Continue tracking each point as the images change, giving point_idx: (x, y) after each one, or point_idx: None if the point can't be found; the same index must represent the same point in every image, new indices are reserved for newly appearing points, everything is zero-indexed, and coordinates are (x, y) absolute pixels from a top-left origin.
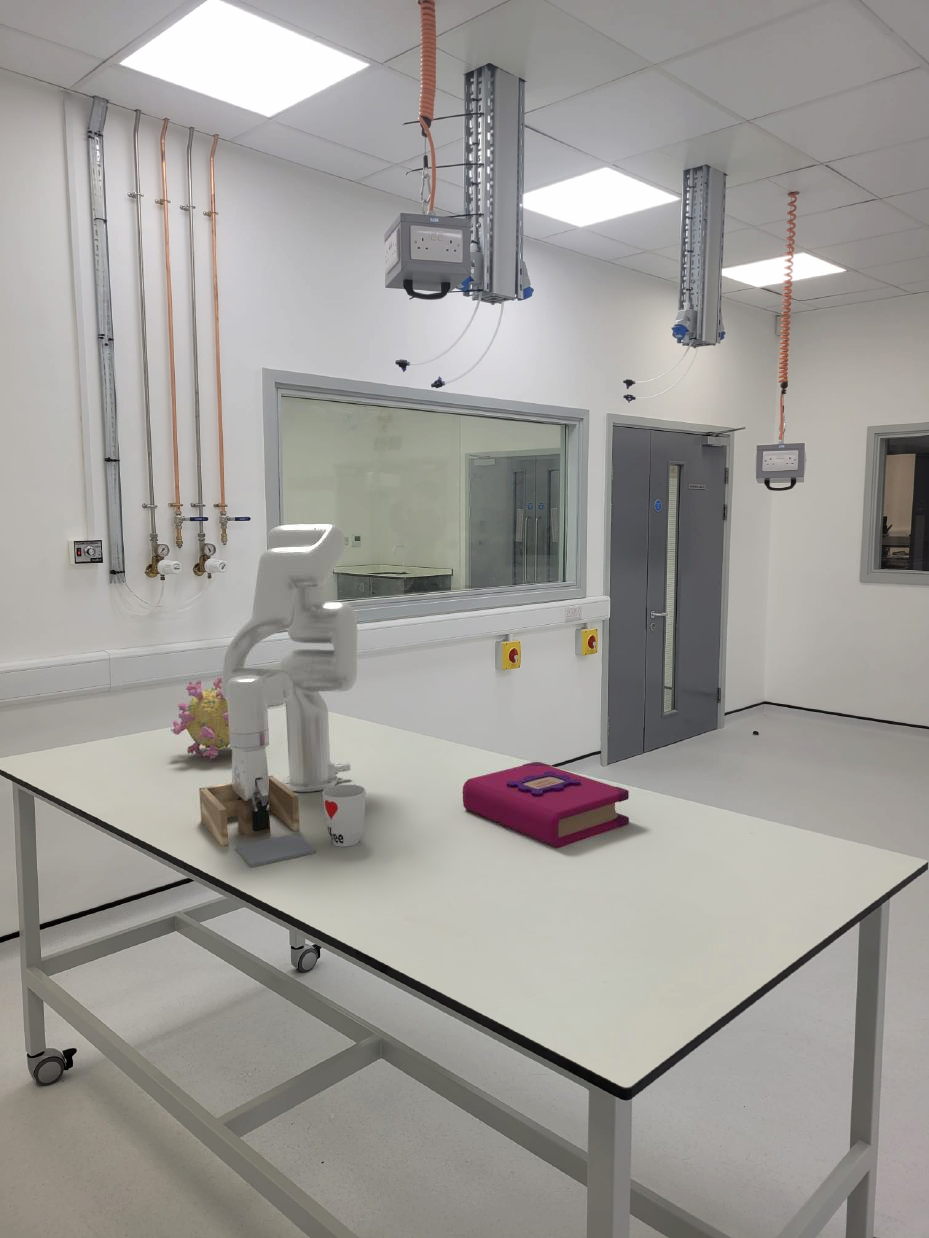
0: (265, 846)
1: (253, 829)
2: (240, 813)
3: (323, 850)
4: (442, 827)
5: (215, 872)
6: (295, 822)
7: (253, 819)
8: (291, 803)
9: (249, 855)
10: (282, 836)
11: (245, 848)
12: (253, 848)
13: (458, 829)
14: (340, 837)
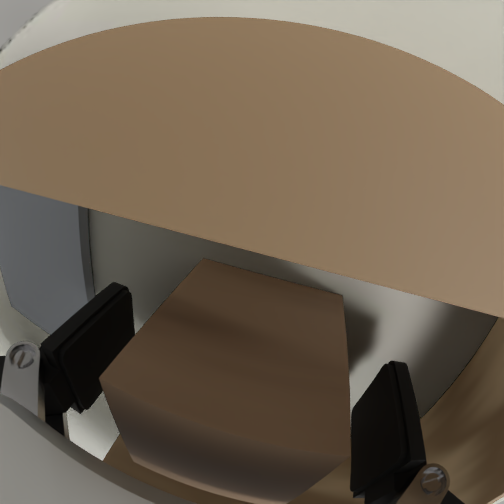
0: (39, 238)
1: (110, 285)
2: (249, 357)
3: (23, 320)
4: (79, 439)
5: (16, 46)
6: None
7: (74, 318)
8: (118, 463)
9: None
10: None
11: None
12: (38, 196)
13: (69, 436)
14: None
